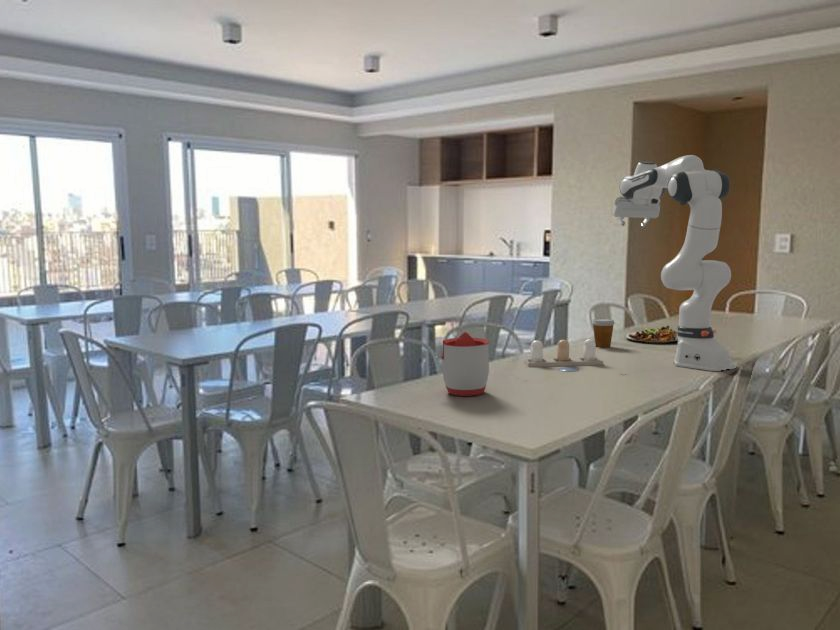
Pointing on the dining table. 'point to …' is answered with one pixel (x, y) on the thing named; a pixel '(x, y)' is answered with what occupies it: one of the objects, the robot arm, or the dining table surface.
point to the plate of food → (654, 335)
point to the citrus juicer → (465, 365)
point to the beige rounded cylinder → (562, 351)
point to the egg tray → (568, 363)
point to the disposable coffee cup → (603, 332)
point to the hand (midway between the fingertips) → (632, 225)
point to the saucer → (568, 369)
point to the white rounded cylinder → (589, 350)
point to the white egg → (536, 351)
